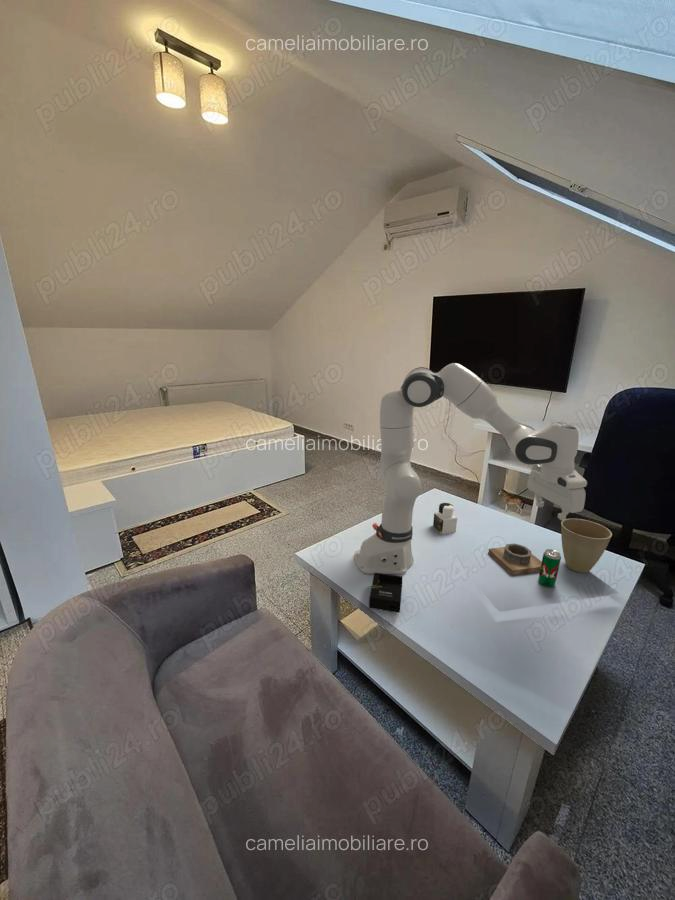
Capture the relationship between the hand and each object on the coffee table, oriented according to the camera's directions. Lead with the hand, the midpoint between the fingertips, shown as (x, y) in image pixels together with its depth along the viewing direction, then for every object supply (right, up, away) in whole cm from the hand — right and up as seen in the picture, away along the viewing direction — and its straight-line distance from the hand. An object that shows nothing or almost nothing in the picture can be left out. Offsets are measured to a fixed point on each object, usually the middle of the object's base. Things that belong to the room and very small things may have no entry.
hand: (550, 512), depth 118 cm
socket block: (-3, -21, +17) cm, 27 cm away
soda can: (+2, -25, +5) cm, 26 cm away
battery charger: (-54, -27, -1) cm, 60 cm away
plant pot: (+18, -23, +14) cm, 32 cm away
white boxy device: (-23, -15, +40) cm, 48 cm away
